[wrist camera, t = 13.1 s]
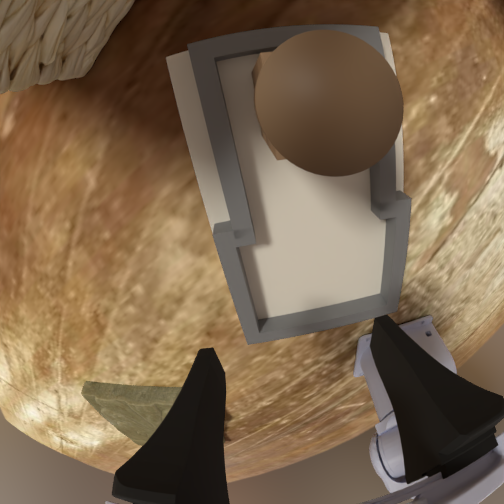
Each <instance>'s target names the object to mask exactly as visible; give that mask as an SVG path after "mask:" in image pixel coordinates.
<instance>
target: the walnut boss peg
mask: <svg viewBox="0 0 504 504" xmlns="http://www.w3.org/2000/svg"><path fill="white" fill-rule="evenodd" d="M251 74H252V79H253V85H254V107H255V112H256V116H257V119H258V122H259V124H260V129H261V135H262V137H263V139H264V140H265V142H266V144H267V145H268V147H269V148H270V150H271V152H272V153H273V155H274V156H275V158H276V160H285V159H287V160H288V161H289V162H291V163H292V164H294V165H295V166H297V167H299V168H301V169H303V170H305V171H308V172H311V173H314V174H317V175H322V176H330V177H340V176H348V175H353V174H356V173H359V172H362V171H364V170H366V169H368V168H370V167H372V166H373V165H375V164H376V163H377V162H379V161H380V160H381V159H382V158H383V157H384V156H385V155H386V154H387V153H388V152H389V150H390V149H391V147H392V146H393V144H394V143H395V141H396V139H397V137H398V134H399V132H400V129H401V125H402V120H403V97H402V92H401V88H400V85H399V82H398V79H397V77H396V75H395V73H394V71H393V69H392V68H391V66H390V65H389V63H388V62H387V61H386V59H385V58H384V57H383V56H382V55H381V54H380V53H379V52H378V51H377V50H376V49H375V48H374V47H372V46H371V45H369V44H368V43H367V42H365V41H363V40H361V39H360V38H358V37H356V36H353V35H350V34H348V33H344V32H340V31H335V30H314V31H308V32H304V33H301V34H298V35H296V36H294V37H292V38H290V39H288V40H286V41H285V42H284V43H282V44H281V45H279V46H278V47H277V48H276V49H275V50H274V51H273V52H263V53H260V55H259V57H258V59H257V61H256V63H255V66H254V68H253V70H252V72H251Z"/></svg>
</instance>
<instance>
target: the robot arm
mask: <svg viewBox="0 0 504 504" xmlns="http://www.w3.org/2000/svg"><path fill="white" fill-rule="evenodd" d="M432 320H433V317H432V316H431V315H428V316H426V317H423V318H420V319H417V320H414V321H411V322H408V323H405V324H402V325H397V324H396V323H395V322H394V321H393V320H392V319H391V318H390V317H389V316H388V315H383V316H380V317H376V318H375V319H374V325H373V331H372V333H371V334H368V335H364V336H361V337H360V338H359V339H358V345H357V353H356V360H355V366H354V373H353V375H354V377H359V376H363V375H364V376H365V379H366V382H367V385H368V388H369V391H370V394H371V397H372V400H373V403H374V406H375V409H376V412H377V415H378V418H379V421H380V422H379V423H378V424H376V425H375V427H376V430H377V432H376V433H374V434H373V436H372V439H371V442H370V446H369V451H370V457H371V461H372V464H373V467H374V469H375V471H376V473H377V474H378V475H379V476H380V477H381V478H382V480H383V482H384V484H385V486H386V488H387V490H388V491H389V492H390V494H387V495H385V496H382V497H379V498H376V499H372V500H370V501H366V502H362V503H359V504H397V503H400V502H402V501H405V500H407V499H410V498H411V499H414V500H413V502H410V503H407V504H478V503H480V502H481V501H482V500H484V499H485V498H486V497H487V496H489V495H490V494H491V493H492V492H493V491H495V490H496V489H497V488H498V487H499V486H500V485H502V483H504V432H502V433H501V434H500V435H498V436H497V437H496V438H495V435H494V433H496V428H495V425H496V424H497V423H498V422H500V421H501V420H502V419H503V418H504V398H503V396H501V395H498V394H495V393H493V392H490V391H487V390H485V389H483V388H481V387H478V386H476V385H474V384H472V383H471V382H469V381H467V380H465V379H464V378H462V377H460V376H458V375H457V371H456V366H455V362H454V360H453V357H452V356H451V354H450V352H449V350H448V349H447V347H446V345H445V344H444V342H443V340H442V339H441V337H440V335H439V334H438V332H437V330H436V329H435V327H434V326H433V324H432ZM225 404H226V380H225V372H224V369H223V367H222V365H221V363H220V361H219V359H218V357H217V355H216V352H215V350H214V348H205V349H200V350H199V351H198V353H197V356H196V358H195V361H194V363H193V365H192V368H191V370H190V372H189V374H188V377H187V379H186V381H185V383H184V385H183V387H182V389H181V391H180V393H179V395H178V396H177V398H176V400H175V402H174V403H173V405H172V407H171V409H170V410H169V412H168V413H167V415H166V417H165V418H164V419H163V421H162V422H161V424H160V425H159V427H158V428H157V429H156V431H155V432H154V433H153V434H152V436H151V437H150V438H149V439H148V441H147V442H146V443H145V444H144V445H143V446H142V447H141V448H140V449H139V450H138V451H137V452H136V453H135V455H133V456H132V457H131V458H130V459H129V460H128V461H127V462H126V463H125V464H124V465H122V466H121V467H120V468H119V469H118V470H117V471H116V472H115V476H114V482H113V490H112V495H113V496H114V497H116V498H119V499H122V500H125V501H128V502H131V503H133V504H230V503H229V498H228V490H227V482H226V473H225V461H224V445H223V433H224V418H225ZM105 504H118V503H114V502H110V501H105Z"/></svg>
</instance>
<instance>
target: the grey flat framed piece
mask: <svg viewBox="0 0 504 504" xmlns="http://www.w3.org/2000/svg"><path fill="white" fill-rule="evenodd" d="M314 30H335V31H340V32H344V33H348V34H350V35H353V36H356V37H358V38H360V39H361V40H363V41H365V42H367V43H368V44H369V45H371V46H372V47H374V48H375V49H376V50H377V51H378V52H379V53H380V54H381V55H382V56H383V57H384V58H385V59H386V61H387V62H388V63H389V65H390V66H391V68H392V69H393V71H394V73H395V75H396V71H395V65H394V59H393V54H392V49H391V44H390V40H389V35H388V33H381V32H379V28H378V27H374V26H362V25H338V24H320V25H296V26H283V27H273V28H265V29H257V30H251V31H244V32H239V33H233V34H228V35H223V36H219V37H214V38H210V39H206V40H202V41H198V42H194V43H190V44H187V47H188V51H184V52H181V53H178V54H174V55H171V56H168V57H166V61H167V65H168V70H169V74H170V78H171V82H172V86H173V90H174V94H175V98H176V102H177V106H178V110H179V114H180V118H181V122H182V126H183V130H184V134H185V137H186V141H187V145H188V149H189V152H190V156H191V160H192V163H193V167H194V171H195V174H196V178H197V181H198V185H199V188H200V192H201V195H202V199H203V202H204V206H205V209H206V213H207V216H208V219H209V223H210V226H211V229H212V233H213V238H214V242H215V245H216V248H217V251H218V255H219V258H220V261H221V264H222V268H223V271H224V274H225V277H226V280H227V283H228V286H229V290H230V293H231V296H232V299H233V302H234V305H235V308H236V311H237V314H238V317H239V320H240V323H241V326H242V329H243V332H244V335H245V338H246V341H247V344H248V345H249V344H255V343H261V342H267V341H273V340H279V339H284V338H289V337H295V336H300V335H304V334H309V333H314V332H319V331H323V330H328V329H332V328H336V327H340V326H345V325H349V324H353V323H357V322H361V321H364V320H368V319H372V318H376V317H379V316H383V315H386V314H390V313H393V312H396V311H397V309H398V304H399V299H400V293H401V288H402V282H403V276H404V269H405V262H406V255H407V246H408V237H409V226H410V213H411V198H410V197H409V196H407V195H406V194H405V193H403V185H404V164H403V136H402V125H401V129H400V132H399V134H398V137H397V139H396V141H395V143H394V144H393V146H392V147H391V149H390V150H389V152H388V153H387V154H386V155H385V156H384V157H383V158H382V159H381V160H380V161H379V162H377V163H376V164H375V165H373V166H372V167H370V168H368V169H366V170H364V171H362V172H359V173H356V174H353V175H348V176H340V177H330V176H322V175H317V174H314V173H311V172H308V171H305V170H303V169H301V168H299V167H297V166H295V165H294V164H292V163H291V162H289V161H288V160H287V159H285V160H276V158H275V156H274V155H273V153H272V152H271V150H270V148H269V147H268V145H267V144H266V142H265V140H264V139H263V137H262V135H261V129H260V124H259V122H258V119H257V116H256V112H255V107H254V85H253V79H252V74H251V72H252V70H253V68H254V66H255V63H256V61H257V59H258V57H259V55H260V53H263V52H273V51H274V50H275V49H276V48H277V47H278V46H279V45H281V44H282V43H284V42H285V41H286V40H288V39H290V38H292V37H294V36H296V35H298V34H301V33H304V32H308V31H314Z"/></svg>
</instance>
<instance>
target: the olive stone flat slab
mask: <svg viewBox="0 0 504 504" xmlns="http://www.w3.org/2000/svg"><path fill="white" fill-rule="evenodd" d="M181 389H182V387H155V386H134V385H121V384H110V383H99V382H91V381H86V382H85V383H84V386H83V389H82V392H81V394H82V396H83V397H84V398H85V399H86V400H87V401H88V402H89V403H90V404H91V405H92V406H93V407H94V408H95V409H96V410H97V411H98V412H99V413H100V415H102V416H103V417H104V418H105V419H106V420H107V421H109V422H110V423H111V424H112V425H114V426H115V427H116V428H117V429H118V430H119V431H120V432H121V433H123V434H124V435H126V436H127V437H129V438H130V439H131V440H132V441H133V442H134V443H136V444H138V445H144V444H145V443H146V442H147V441H148V439H149V438H150V437H151V436H152V434H153V433H154V432H155V431H156V429H157V428H158V427H159V425H160V424H161V422H162V421H163V419H164V418H165V417H166V415H167V413H168V412H169V410H170V409H171V407H172V405H173V403H174V402H175V400H176V398H177V396H178V395H179V393H180V391H181ZM224 443H225V438H224V435H223V444H224Z"/></svg>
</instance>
